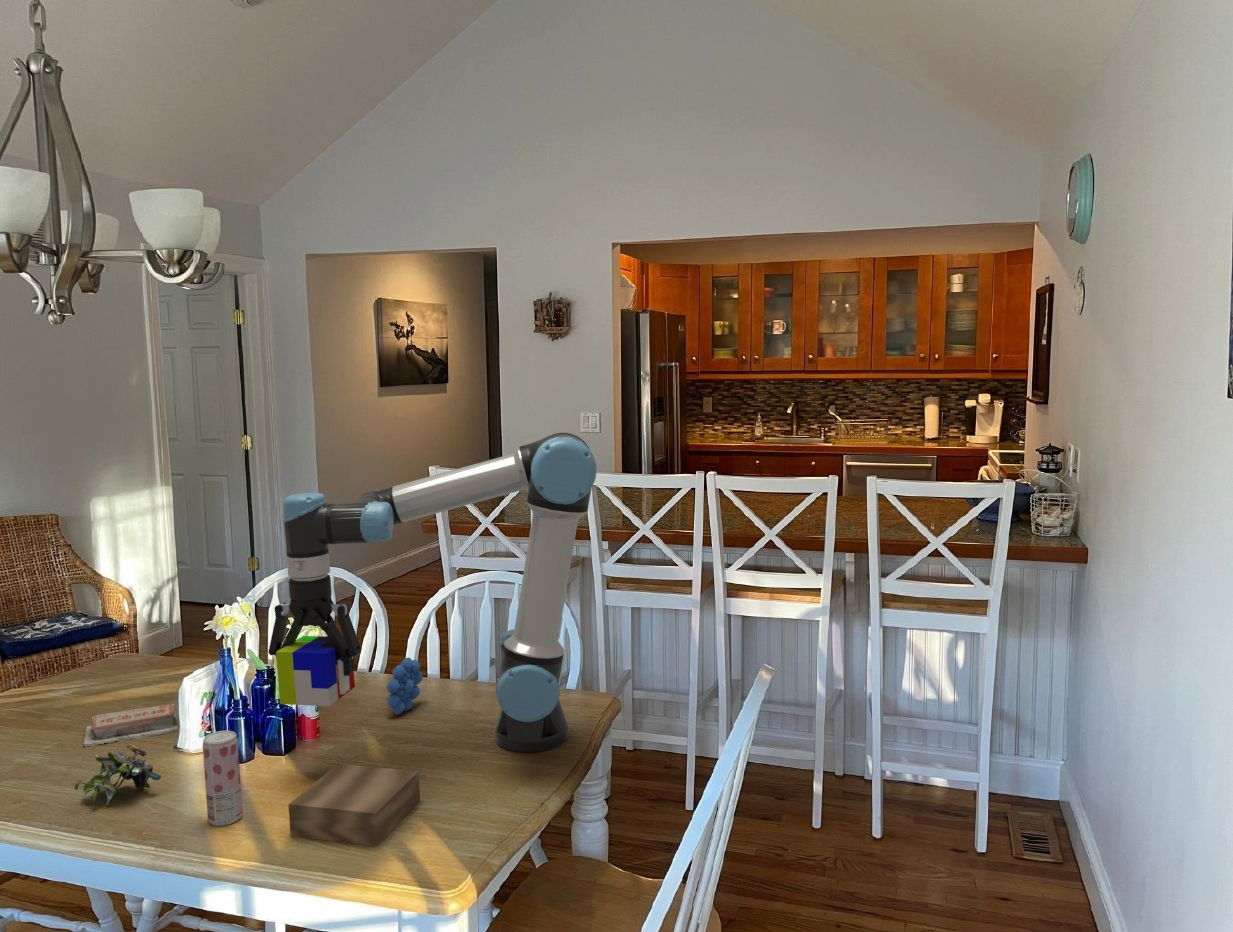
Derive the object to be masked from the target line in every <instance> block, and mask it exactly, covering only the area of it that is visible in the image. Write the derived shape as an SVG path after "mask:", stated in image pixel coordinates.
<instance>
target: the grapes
mask: <svg viewBox="0 0 1233 932" xmlns="http://www.w3.org/2000/svg"><path fill="white" fill-rule="evenodd" d="M420 669H421V665H420V661H418V660H417V659H414V660H413V659H412V658H411V657H406V658H404V659H403V660H402V661H401V663H400V664H398V665H396V666H395V667H394V668H393V671H392V677H393V678H392V679H391V680H390V681H389V682H388V683H387V684H386V688H387V692H388V693H389V694H390V695H388V697H387V699H386V703H387V705H388V707H389V708H392V712H393V713H394V714H395V715H400V714H402V713H403V712H407V711H410V709H412V707H413V705H414V702H413V700H415V699H417V698H418V697H419V695H420V694H421V690H420V689H421V688H420V687H419V684H421V682H422V681H423V679H424V677H423V673H422V672H421V671H420Z"/></svg>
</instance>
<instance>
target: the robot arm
mask: <svg viewBox="0 0 1233 932" xmlns="http://www.w3.org/2000/svg"><path fill="white" fill-rule="evenodd" d="M596 479H597V463H596V459H595V457H594V454H593V452H592V451H591V449H590V446H588V444H587V443H586V441H585V440H584V439H582V438H581V437H579V436H578V435H575V434H573V433H570V432H557V433H556V432H555V433H553V434H550V435H548V436H546V437H544V438H542V439H539V440H536V441H533V442H531V443H527V444H524V445H521V446H520V445H519V446H517V448H516V449H515V451H514V453H510V454H507V455H504V456H500V457H499V456H498V457H496V458H493V459H489V460H485V461H482V462H477V463H474V464H471V465H467V466H463V467H459V468H456V469H453V470H448V471H445V472H440V473H437V474H433V475H430V476H427V477H423V478H419V479H416V480H412V481H408V482H404V483H401V484H396V485H394V486H391V487H387V488H383V489H380V490H379V489H373V490H370V491H367V492H364V493H363V494H362V495H360V496H359V497H358V498H357V499H356V500H355V501H353V502H351V503H350V502H349V503H347V502H346V503H327V500H326V498H325V497H326V496H325V495H324V494H323V493H320V492H305V493H302V492H301V493H295V494H291V495H288V496H286V497H285V499H284V500H283V521H282V523H283V528H284V539H285V549H286V564H287V565H286V566H287V576H288V577H290V578H289V580H288V593H289V594H288V595H289V599H290V602H289V603H287V602H281V603H279V604H277V605H276V606H274V614H275V615H274V616H275V620H274V624H273V628H272V634H271V639H270V642H269V648H268V654H269V655H270V656H275V657H276V652H277V651H278V650H280V649H282V648H284V647H285V646H290V645H291V644H293V643H294V642H295V641H296V640H297V639H298V637H299V635H300V634H301V631H302V629H303V627H308V626H309V627H310V626H312V627H319V628H320V630H322V631H323V632H324V633H325V636H328V638H329V639H330V641H331V643H332V644H333V646H334V647H336V648H337V652H338V654H339V655H340V657H341V658H340V659H339V660H338V675H339V689H340V694H345V693H346V692H347V691H348V690H349V689H350V684H349V675H350V674H352V672H353V668H354V665H353V666H352V657H353V658H354V657H356V656H357V655H359V654H360V653H361V652H362V646H361V645H360V641H359V639H358V636H357V633H356V630H355V628H354V624H353V622H352V620H351V616H350V605H349V603H347V602H344V603H343V604H339V603H337V604H336V603H335V602H334V601H333V599H332V593H333V592H332V580H331V579H332V578H331V576H330V575H329V574H330V572H331V566H330V565H331V564H330V556H329V555H330V554H329V545H337V544H338V545H339V544H340V545H342V544H343V545H345V544H363V543H364V544H367V543H369V544H376V543H380V542H388V541H390V540H391V539H392V538H393V533H394V527H395V526H397V525H399V524H400V525H401V524H403V523H404V522H405V523H406V522H408V521H409V522H410V521H412V520H417V519H420V518H425V517H428V516H431V515H435V514H439V513H442V512H446V511H449V510H450V511H451V510H455V509H458V508H461V507H465V506H469V505H472V504H477V503H480V502H483V501H487V500H491V499H495V498H498V497H501V496H505V495H509V494H513V493H517V492H520V491H526V492H527V497H526V504H527V506H528V508H529V509H530V510H531V511H532V517H531V518H532V519H531V522H530V523H531V525H530V528H529V529H530V530H529V537H528V542H527V548H526V554H525V555H526V556H525V560H524V561H525V562H524V568H523V573H522V581H521V586H520V593H519V600H518V604H517V612H516V617H515V622H514V623H515V624H514V629H509V630H507V631H504V632H503V633H502V634H501V635H500V643H499V648H500V669H499V674H498V680H497V682H496V687H495V695H496V699H497V703H498V705H499V706H500V708H501V709H500V713H499V716H498V719H497V723H496V727H495V733H494V734H495V742H496V744H497V745H498V746H500V747H501V748H503V749H505V750H508V751H511V752H512V751H513V752H518V753H519V752H521V753H533V752H534V753H536V752H543V751H548V750H551V749H555V748H557V747H559V746H561V745H563V744H564V743H566V741H567V740H568V739H569V723H568V722H567V719H566V716H565V713H564V710H563V707H562V705H561V702H560V697H561V696H560V695H561V690H560V680H561V674H562V669H563V662H564V657H565V655H564V654H565V648H564V647H563V645H562V644H561V643H560V642H559V639H560V632H561V625H562V619H563V615H564V614H563V613H564V607H565V601H566V595H567V589H568V583H569V579H570V578H569V577H570V572H571V565H572V559H573V552H574V546H575V541H576V540H575V539H576V533H577V529H578V522H579V520H580V519H581V518H582V517H584V516H586V514H587V513H588V510H589V504H590V500H591V492H592V488H593V486H594V484H595V482H596ZM290 612H291V614H292V615H293V616H294V619H293V621H292V623H291V624H290V629H289V631H288V633H287V635H286V637H285V639H284V634H285V632H286V631H285V630H286V627H287V622H288V617H289V614H290ZM333 612H334V615H335V616H336V617H337V618H336V619H337V621H338V625H339V628H340V630H339V629H338V627H337V625H336V623H335V622H336V621H335V620H334V619H335V618H333V616H332V615H331V614H332V613H333ZM343 637H344V638H343ZM283 640H284V641H283ZM345 695H346V694H345Z"/></svg>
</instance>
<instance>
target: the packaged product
mask: <svg viewBox="0 0 1233 932" xmlns="http://www.w3.org/2000/svg"><path fill="white" fill-rule="evenodd" d="M177 713H178V712H177V711H176V704H175V703H167V704H160V705H152V706H145V707H139V708H132V709H127V710H120V711H114V712H107V713H101V714H96V715H93V716H91V725H87V726H86V730H85V735H84V741H83V747H84V746H90V745H95V744H102V745H105V744H104V743H109V744H111V743H110V742H115V741H121V740H127V741H130V740H129V739H134V740H137V739H136V738H140V739H144V738H143V737H145V738H150V737H157V736H159V735H160V736H162V735H167V734H174V733H177V732H178V731H179V730H178V728H179V722H178V714H177ZM161 734H162V735H161ZM121 742H122V741H121ZM115 743H116V742H115Z"/></svg>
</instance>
